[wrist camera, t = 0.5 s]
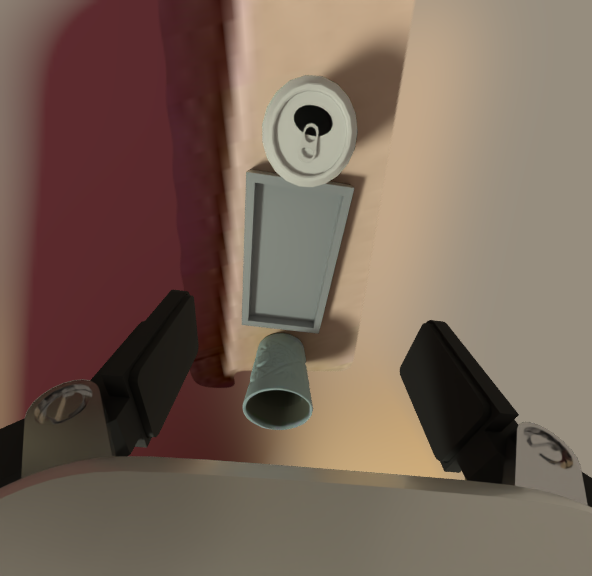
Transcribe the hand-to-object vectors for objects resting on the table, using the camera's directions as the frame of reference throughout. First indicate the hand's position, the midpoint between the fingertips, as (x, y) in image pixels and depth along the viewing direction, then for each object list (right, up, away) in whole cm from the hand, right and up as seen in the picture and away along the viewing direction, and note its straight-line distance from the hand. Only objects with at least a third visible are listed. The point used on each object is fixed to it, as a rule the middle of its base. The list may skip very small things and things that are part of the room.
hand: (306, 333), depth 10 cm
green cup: (-3, -10, +36) cm, 37 cm away
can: (+1, +19, +18) cm, 27 cm away
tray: (-1, +6, +26) cm, 27 cm away
